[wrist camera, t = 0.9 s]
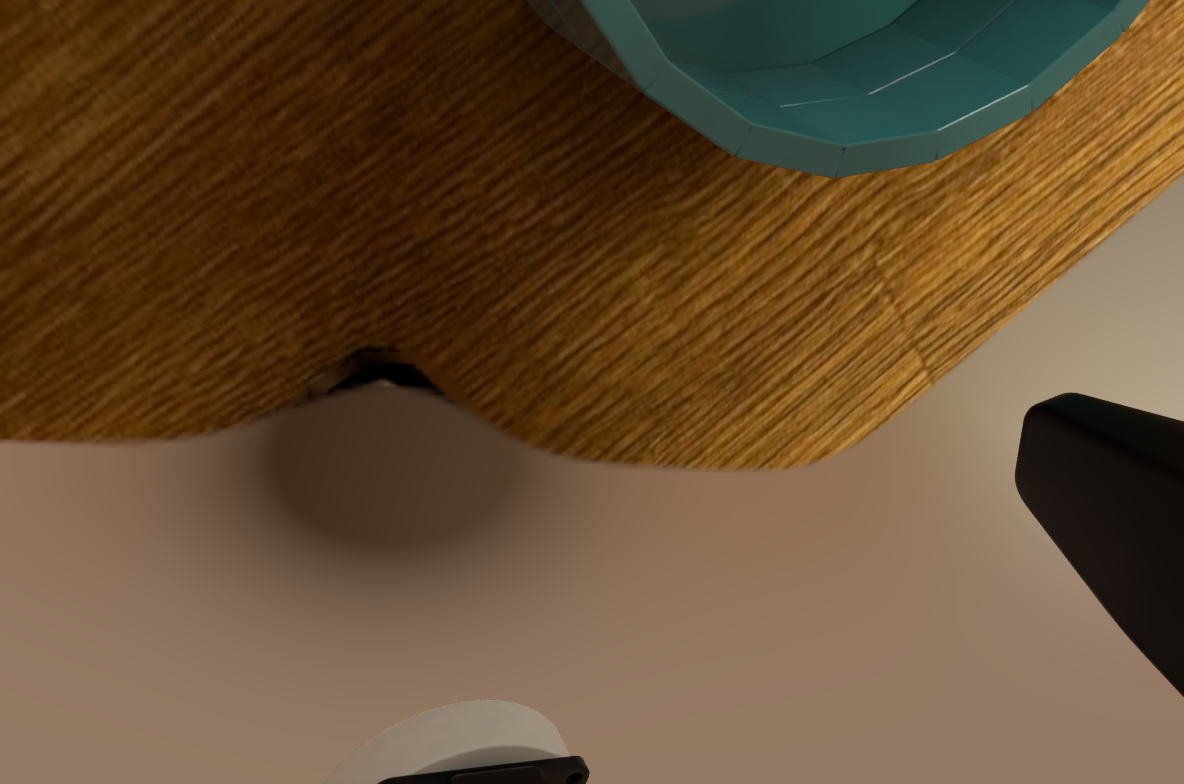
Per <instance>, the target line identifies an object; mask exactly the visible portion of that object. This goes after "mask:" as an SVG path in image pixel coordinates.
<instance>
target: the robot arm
mask: <svg viewBox="0 0 1184 784" xmlns="http://www.w3.org/2000/svg"><path fill="white" fill-rule="evenodd" d="M1015 482H1016V486H1017V489H1018V492H1019V494H1020V496H1021V498H1022V500H1023V502H1024V503H1025V505H1026V506H1027V507H1028V508H1029V510H1030V511H1031V512H1032V514H1033V515H1034V516H1035V518H1036V519H1037V520H1038V522H1039V523H1040V524H1041V525H1042V527H1043V528H1044V529H1045V531H1046V532H1047V533H1048V535H1049V536H1050V537H1051V539H1052V540H1053V541H1054V543H1055V544H1056V545H1057V547H1058V548H1059V549H1060V550H1061V552H1062V553H1063V554H1064V556H1065V557H1066V558H1067V559H1068V561H1069V562H1070V563H1071V565H1072V566H1073V567H1074V569H1075V570H1076V571H1077V573H1078V574H1079V575H1080V577H1081V578H1082V579H1083V581H1084V582H1085V583H1086V584H1087V586H1088V587H1089V588H1090V590H1091V591H1092V592H1093V593H1094V595H1095V596H1096V597H1097V599H1098V600H1099V602H1100V603H1101V604H1102V605H1103V607H1104V608H1105V609H1106V611H1107V612H1108V613H1109V614H1110V615H1111V617H1112V618H1113V619H1114V621H1115V622H1116V623H1117V624H1118V625H1119V627H1120V628H1121V629H1122V630H1123V631H1124V633H1125V634H1126V635H1127V636H1128V637H1129V638H1130V640H1131V641H1132V642H1133V643H1134V644H1135V645H1136V646H1137V647H1138V649H1140V651H1141V652H1142V653H1143V654H1144V655H1145V656H1146V657H1147V658H1148V660H1150V661H1151V663H1152V664H1153V665H1154V666H1155V667H1156V668H1157V669H1158V670H1159V671H1160V672H1161V673H1162V675H1163V676H1164V677H1165V678H1166V679H1167V680H1168V681H1169V682H1170V683H1171V684H1172V685H1173V686H1174V687H1175V688H1176V690H1177V691H1178V692H1179V693H1180V694H1181V695H1182V696H1183V697H1184V421H1180V420H1176V419H1172V418H1168V417H1165V416H1161V415H1157V414H1154V413H1150V412H1146V411H1142V410H1139V409H1135V408H1131V407H1128V406H1124V405H1120V404H1116V403H1112V402H1109V401H1105V400H1101V399H1098V398H1094V397H1090V396H1087V395H1083V394H1078V393H1064V394H1061V395H1058V396H1055V397H1053V398H1050V399H1048V400H1045V401H1043V402H1040V403H1038V404H1035V405H1034V406H1032V407H1031V408H1030V409H1029V410H1028V412H1027V413H1026V415H1025V418H1024V421H1023V428H1022V433H1021V439H1020V445H1019V451H1018V457H1017V463H1016V470H1015ZM589 773H590V772H589V770H588V768H587V766H586V764H585V762H584V760H583V758H581V757H580V756H568V757H559V758H551V759H542V760H534V761H525V762H517V763H509V764H500V765H492V766H483V767H475V768H466V769H458V770H449V771H441V772H432V773H424V774H416V775H407V776H399V777H392V778H388V779H385V780H383V781H381V782H379V783H378V784H586V782H587V780H588V777H589Z"/></svg>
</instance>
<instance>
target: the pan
mask: <svg viewBox="0 0 1184 784" xmlns="http://www.w3.org/2000/svg"><path fill="white" fill-rule="evenodd" d="M525 1H526V2H527V3H528V4H529V5H531V6H532V7H533V9H534V10H535V12H536V13H537V14H538V16H539V17H540V19H541V20H542V21H543V22H545V23H546V25H547V26H548V27H550V28H551V29H552V30H554V31H555V32H557V33H558V34H559V35H561V36H562V37H564V38H565V39H566V40H568V41H569V42H571V43H572V44H574V45H575V46H576V47H578V48H579V49H581V50H582V51H583V52H585V53H586V54H588V55H589V56H590V57H592V58H593V59H595V60H596V61H597V62H599V63H600V64H602V65H603V66H604V67H606V68H607V69H609V70H610V71H612V72H613V73H614V74H616V75H617V76H619V77H620V78H621V79H623V80H624V81H626V82H627V83H628V84H630V85H631V86H633V87H634V88H635V89H637V90H638V91H640V92H641V93H643V94H644V95H645V96H647V97H648V98H650V99H651V100H652V101H654V102H655V103H657V104H658V105H660V106H661V107H662V108H664V109H665V110H667V111H668V112H670V113H671V114H673V115H674V116H675V117H677V118H678V119H680V120H681V121H683V122H684V123H685V124H687V125H688V126H690V127H691V128H693V129H694V130H695V131H697V132H698V133H700V134H701V135H703V136H704V137H705V138H707V139H708V140H710V141H711V142H713V143H714V144H715V145H717V146H718V147H720V148H721V149H723V150H724V151H725V152H727V153H728V154H730V155H733V156H734V157H736V158H739V159H744V160H748V161H753V162H758V163H763V164H767V165H772V166H777V167H781V168H786V169H791V170H795V171H800V172H805V173H810V174H814V175H819V176H824V177H828V178H834V177H835V178H840V177H846V176H852V175H858V174H864V173H871V172H877V171H883V170H889V169H895V168H901V167H907V166H913V165H920V164H926V163H932V162H934V161H935V160H939V159H941V158H943V157H945V156H947V155H949V154H951V153H953V152H955V151H957V150H959V149H961V148H963V147H965V146H967V145H969V144H971V143H973V142H975V141H977V140H979V139H981V138H983V137H985V136H987V135H989V134H991V133H993V132H995V131H997V130H999V129H1001V128H1003V127H1004V126H1006V125H1008V124H1010V123H1012V122H1014V121H1016V120H1018V119H1020V118H1022V117H1024V116H1026V115H1028V114H1030V113H1031V111H1034V110H1036V109H1037V108H1038V107H1039V106H1040V105H1042V104H1043V103H1044V102H1045V101H1046V100H1047V99H1049V98H1050V97H1051V96H1052V95H1053V94H1054V93H1056V92H1057V91H1058V90H1059V89H1060V88H1061V87H1063V86H1064V85H1065V84H1066V83H1067V82H1068V81H1069V80H1071V79H1072V78H1073V77H1074V76H1075V75H1076V74H1078V73H1079V72H1080V71H1081V70H1082V69H1083V68H1085V67H1086V66H1087V65H1088V64H1089V63H1090V62H1092V61H1093V60H1094V59H1095V58H1096V57H1097V56H1099V55H1100V54H1101V53H1102V52H1103V51H1104V50H1105V49H1107V48H1108V47H1109V46H1110V45H1111V44H1112V43H1114V42H1115V41H1116V40H1117V39H1118V38H1119V37H1121V35H1122V32H1125V31H1126V30H1127V29H1128V28H1129V26H1130V25H1131V24H1132V23H1133V21H1134V20H1135V19H1136V17H1137V16H1138V15H1139V13H1140V12H1141V11H1142V10H1143V8H1144V7H1145V6H1146V4H1147V3H1148V2H1149V1H1150V0H525Z"/></svg>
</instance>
